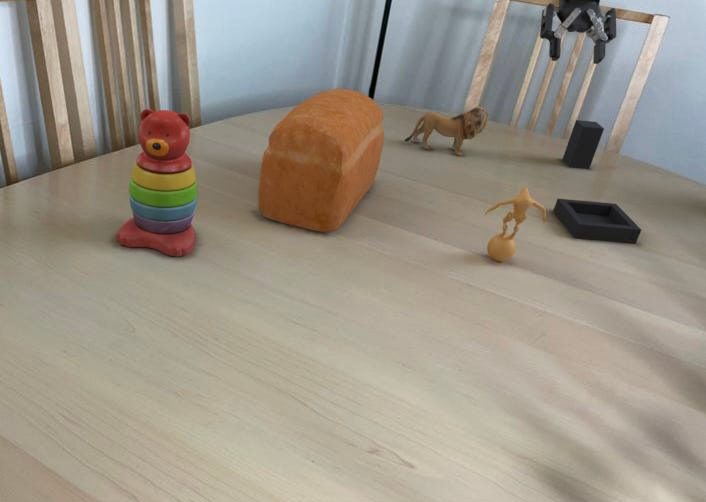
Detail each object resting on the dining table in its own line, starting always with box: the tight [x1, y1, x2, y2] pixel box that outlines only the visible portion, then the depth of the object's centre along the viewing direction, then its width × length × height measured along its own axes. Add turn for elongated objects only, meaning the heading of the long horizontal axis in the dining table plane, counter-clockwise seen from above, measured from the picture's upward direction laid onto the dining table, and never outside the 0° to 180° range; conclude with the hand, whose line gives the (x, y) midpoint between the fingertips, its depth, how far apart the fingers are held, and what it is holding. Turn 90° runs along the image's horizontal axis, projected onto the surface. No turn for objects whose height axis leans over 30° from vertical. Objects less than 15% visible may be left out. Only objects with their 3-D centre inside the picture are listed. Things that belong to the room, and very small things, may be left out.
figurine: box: [484, 187, 547, 262], centre depth 105 cm, size 8×6×12 cm
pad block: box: [561, 119, 605, 170], centre depth 144 cm, size 4×4×8 cm
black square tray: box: [552, 198, 642, 244], centre depth 121 cm, size 10×10×2 cm
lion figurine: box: [403, 106, 490, 156], centre depth 145 cm, size 15×5×9 cm, turn 79°
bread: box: [257, 88, 385, 233], centre depth 118 cm, size 14×26×16 cm, turn 157°
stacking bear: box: [115, 108, 199, 257], centre depth 101 cm, size 11×10×18 cm
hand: (576, 61), depth 146 cm, fingers open, 8 cm apart
